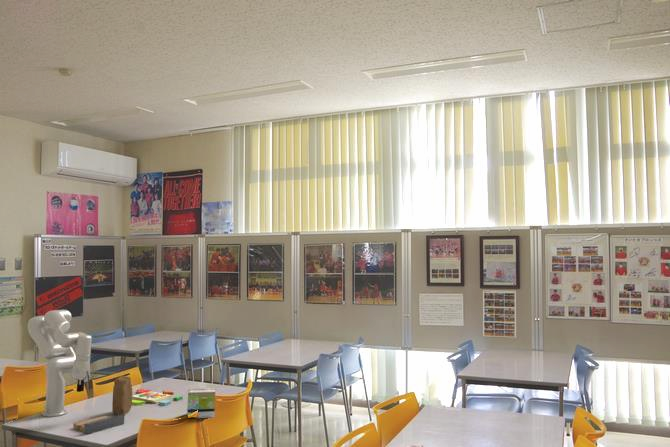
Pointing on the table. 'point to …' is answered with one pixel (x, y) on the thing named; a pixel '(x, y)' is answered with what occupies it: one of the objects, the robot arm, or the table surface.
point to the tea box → (201, 402)
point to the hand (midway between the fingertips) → (80, 391)
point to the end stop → (103, 423)
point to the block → (122, 395)
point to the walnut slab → (81, 424)
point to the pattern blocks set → (153, 397)
